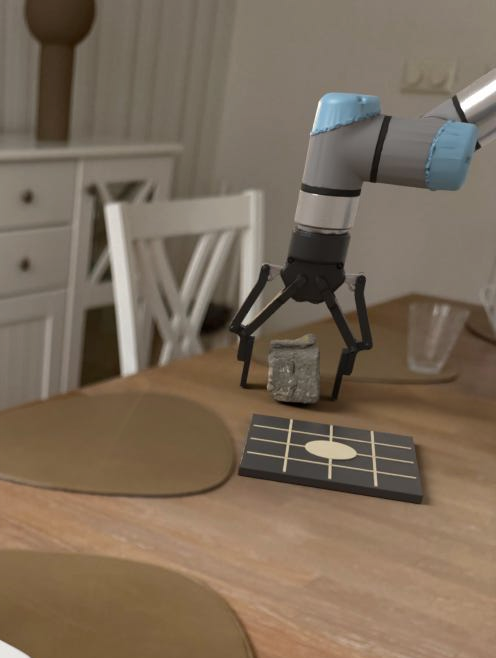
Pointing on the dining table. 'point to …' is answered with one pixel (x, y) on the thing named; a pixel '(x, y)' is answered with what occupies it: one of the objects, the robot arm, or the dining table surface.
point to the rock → (294, 370)
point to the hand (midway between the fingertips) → (288, 390)
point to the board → (332, 458)
